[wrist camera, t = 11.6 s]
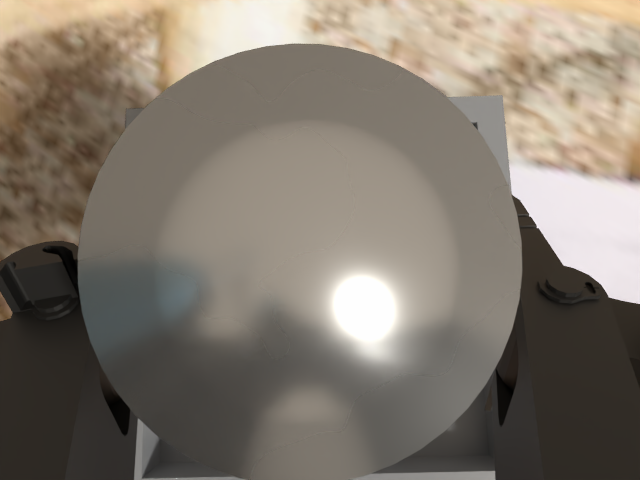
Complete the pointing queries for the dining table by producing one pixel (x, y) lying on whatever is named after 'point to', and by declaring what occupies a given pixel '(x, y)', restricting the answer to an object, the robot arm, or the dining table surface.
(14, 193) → the dining table surface
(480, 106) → the tray
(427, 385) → the steel roller
